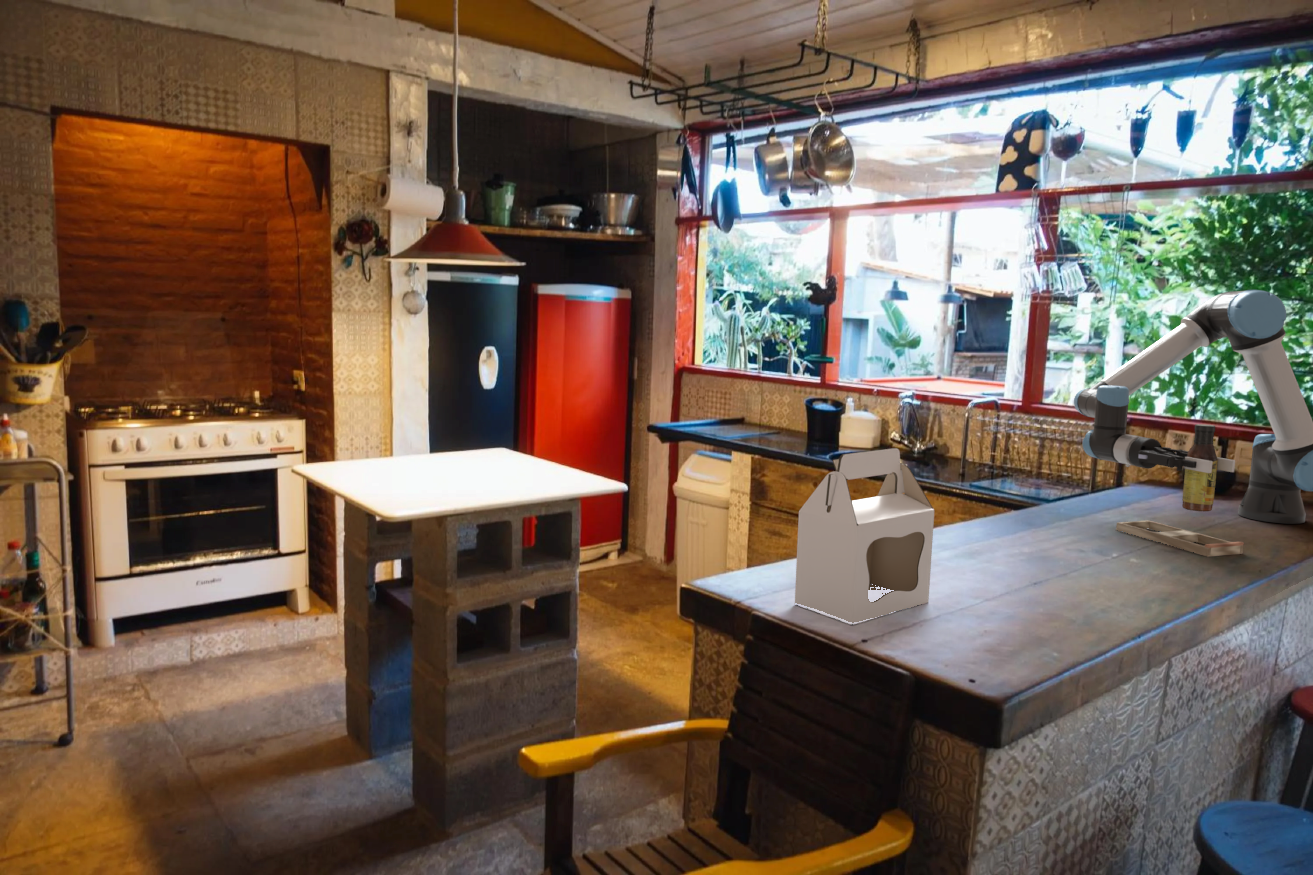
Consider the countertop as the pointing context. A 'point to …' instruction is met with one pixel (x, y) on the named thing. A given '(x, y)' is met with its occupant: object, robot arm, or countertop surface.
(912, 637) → the countertop surface
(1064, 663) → the countertop surface
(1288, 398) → the robot arm
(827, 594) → the gable box
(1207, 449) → the sauce bottle
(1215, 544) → the bottle rack
